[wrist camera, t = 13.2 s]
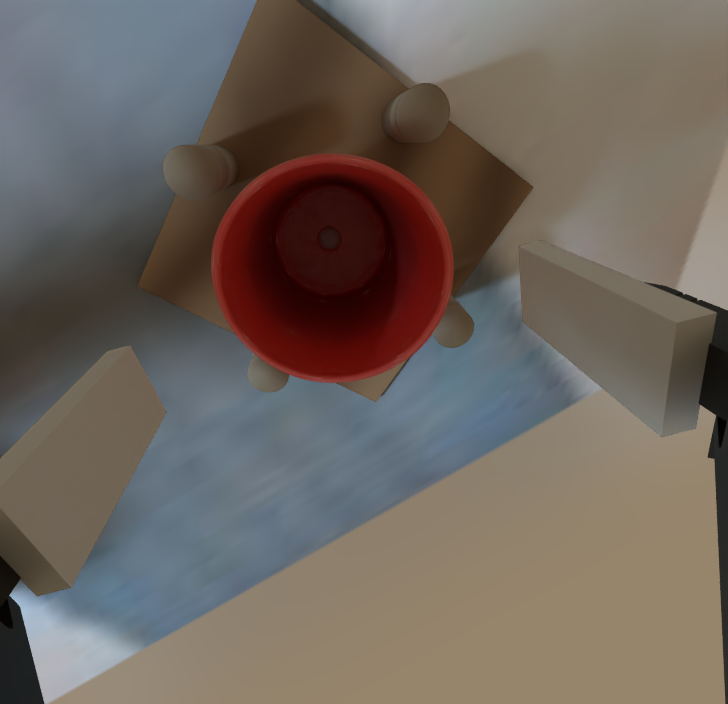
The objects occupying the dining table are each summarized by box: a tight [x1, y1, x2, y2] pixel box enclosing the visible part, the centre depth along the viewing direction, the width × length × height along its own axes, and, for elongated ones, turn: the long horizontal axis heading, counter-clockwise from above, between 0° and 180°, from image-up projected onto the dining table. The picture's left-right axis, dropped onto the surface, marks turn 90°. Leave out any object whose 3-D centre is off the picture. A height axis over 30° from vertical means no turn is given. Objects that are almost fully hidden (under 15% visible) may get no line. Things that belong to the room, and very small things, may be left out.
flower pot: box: [211, 153, 454, 383], centre depth 23 cm, size 11×11×10 cm
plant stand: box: [137, 0, 533, 402], centre depth 25 cm, size 19×19×7 cm
